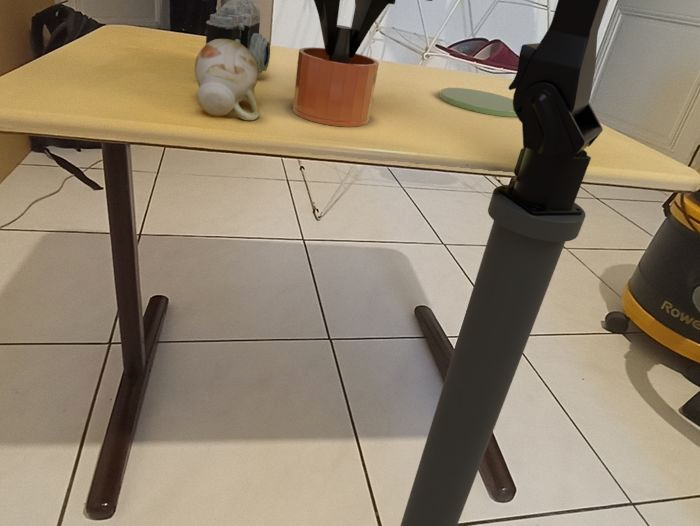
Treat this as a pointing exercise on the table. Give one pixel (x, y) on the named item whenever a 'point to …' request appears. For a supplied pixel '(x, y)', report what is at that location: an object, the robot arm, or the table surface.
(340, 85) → the cup
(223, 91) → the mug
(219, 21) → the camera
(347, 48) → the grey flanged cylinder
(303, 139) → the table surface
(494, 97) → the plate
